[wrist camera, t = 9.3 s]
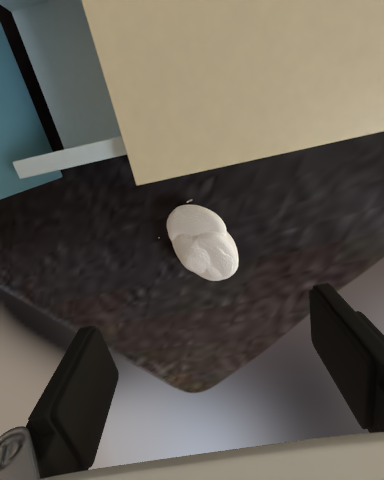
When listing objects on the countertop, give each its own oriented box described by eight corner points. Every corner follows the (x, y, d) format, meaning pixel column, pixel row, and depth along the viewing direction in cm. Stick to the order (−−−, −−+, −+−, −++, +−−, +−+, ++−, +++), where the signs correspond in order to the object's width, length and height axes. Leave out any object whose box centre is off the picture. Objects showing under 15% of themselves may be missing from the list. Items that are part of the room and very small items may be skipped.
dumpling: (244, 252, 22) (248, 286, 19) (189, 265, 24) (183, 298, 21) (219, 180, 19) (218, 207, 15) (155, 201, 20) (143, 229, 17)
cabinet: (158, 163, 19) (136, 186, 11) (105, -44, 15) (5, -251, 7) (347, 120, 18) (469, 112, 10) (351, -117, 14) (576, -463, 6)
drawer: (-15, 194, 19) (-116, 226, 13) (-108, 22, 15) (-321, -56, 9) (218, 141, 18) (233, 147, 11) (184, -64, 14) (179, -228, 7)
